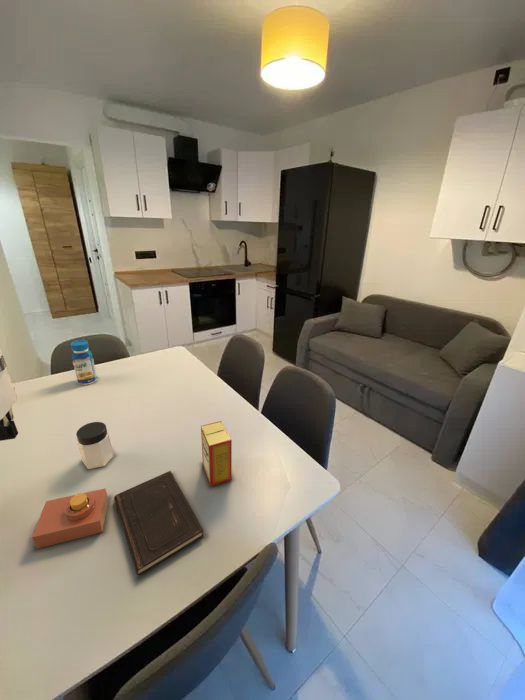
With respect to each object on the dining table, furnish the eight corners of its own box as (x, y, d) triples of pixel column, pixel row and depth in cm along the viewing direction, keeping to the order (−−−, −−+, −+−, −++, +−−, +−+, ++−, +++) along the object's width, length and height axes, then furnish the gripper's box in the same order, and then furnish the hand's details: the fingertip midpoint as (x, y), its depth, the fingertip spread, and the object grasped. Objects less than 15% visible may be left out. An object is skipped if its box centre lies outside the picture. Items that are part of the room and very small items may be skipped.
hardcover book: (171, 475, 90) (170, 470, 89) (203, 536, 73) (203, 530, 72) (115, 501, 81) (113, 495, 80) (137, 577, 64) (136, 570, 63)
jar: (115, 447, 100) (109, 419, 95) (112, 465, 93) (105, 435, 88) (85, 453, 97) (77, 424, 92) (80, 471, 90) (71, 441, 85)
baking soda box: (231, 479, 90) (231, 439, 83) (210, 486, 87) (209, 445, 80) (222, 458, 97) (221, 419, 91) (202, 464, 95) (200, 424, 88)
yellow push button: (69, 512, 71) (68, 507, 71) (73, 500, 74) (71, 494, 74) (86, 509, 72) (84, 503, 72) (89, 497, 76) (87, 491, 75)
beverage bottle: (101, 378, 142) (94, 340, 134) (88, 386, 134) (79, 347, 126) (87, 375, 143) (78, 338, 135) (73, 383, 136) (63, 344, 128)
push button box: (36, 548, 69) (29, 532, 66) (50, 512, 77) (44, 496, 75) (102, 532, 73) (98, 515, 71) (108, 498, 82) (104, 483, 79)
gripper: (-22, 354, 65) (3, 420, 72) (-66, 387, 52) (-29, 464, 59) (18, 351, 67) (39, 415, 75) (-15, 382, 54) (15, 457, 62)
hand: (9, 437), depth 67 cm, fingers closed
